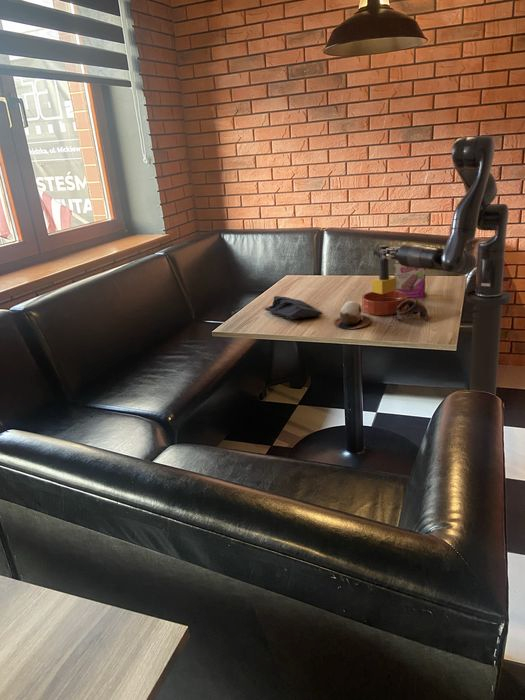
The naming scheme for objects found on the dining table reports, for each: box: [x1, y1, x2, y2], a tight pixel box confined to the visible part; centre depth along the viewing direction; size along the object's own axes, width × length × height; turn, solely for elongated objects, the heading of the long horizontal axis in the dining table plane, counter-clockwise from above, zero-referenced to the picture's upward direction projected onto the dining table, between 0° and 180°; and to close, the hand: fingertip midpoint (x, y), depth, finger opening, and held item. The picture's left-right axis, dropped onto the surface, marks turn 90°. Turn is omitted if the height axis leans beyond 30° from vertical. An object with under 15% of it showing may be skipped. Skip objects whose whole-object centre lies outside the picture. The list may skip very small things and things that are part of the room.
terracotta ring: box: [361, 291, 408, 316], centre depth 190 cm, size 16×16×5 cm
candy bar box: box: [393, 260, 426, 299], centre depth 200 cm, size 11×5×16 cm, turn 74°
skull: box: [334, 300, 372, 330], centre depth 179 cm, size 12×10×10 cm
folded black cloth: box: [264, 295, 323, 320], centre depth 196 cm, size 15×22×5 cm
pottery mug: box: [396, 298, 430, 322], centre depth 177 cm, size 12×10×8 cm
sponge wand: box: [371, 244, 397, 294], centre depth 186 cm, size 7×5×16 cm
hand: (377, 250), depth 186 cm, fingers closed on sponge wand, 3 cm apart
